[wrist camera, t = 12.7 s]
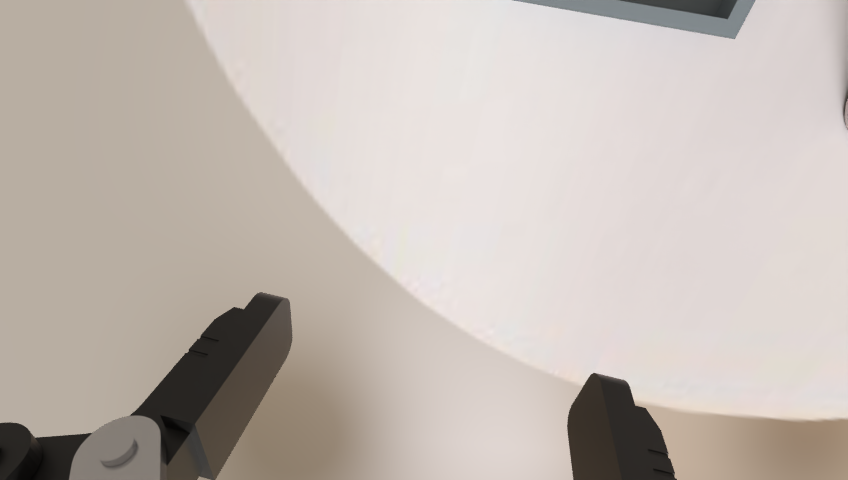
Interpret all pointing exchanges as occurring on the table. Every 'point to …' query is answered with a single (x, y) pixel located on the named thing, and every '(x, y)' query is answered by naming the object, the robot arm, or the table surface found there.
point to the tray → (667, 13)
